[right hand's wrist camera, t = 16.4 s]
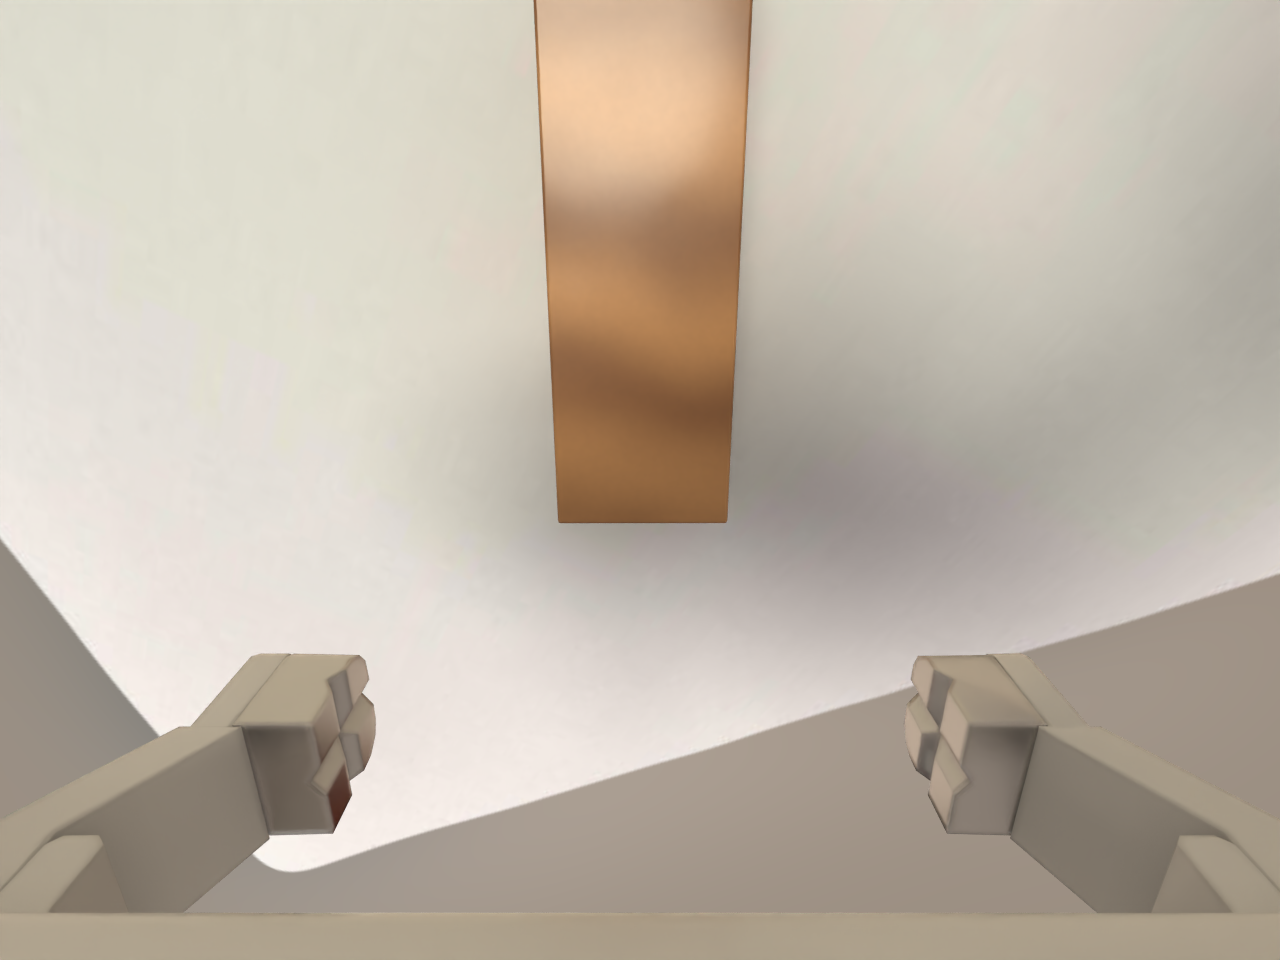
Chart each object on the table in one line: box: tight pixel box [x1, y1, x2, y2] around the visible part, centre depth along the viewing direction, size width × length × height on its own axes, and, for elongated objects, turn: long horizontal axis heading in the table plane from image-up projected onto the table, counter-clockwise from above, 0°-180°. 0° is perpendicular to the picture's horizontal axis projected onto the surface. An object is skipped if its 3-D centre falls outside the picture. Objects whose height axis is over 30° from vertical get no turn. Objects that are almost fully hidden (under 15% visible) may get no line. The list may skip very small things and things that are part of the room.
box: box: [534, 0, 753, 523], centre depth 28 cm, size 21×6×12 cm, turn 0°
